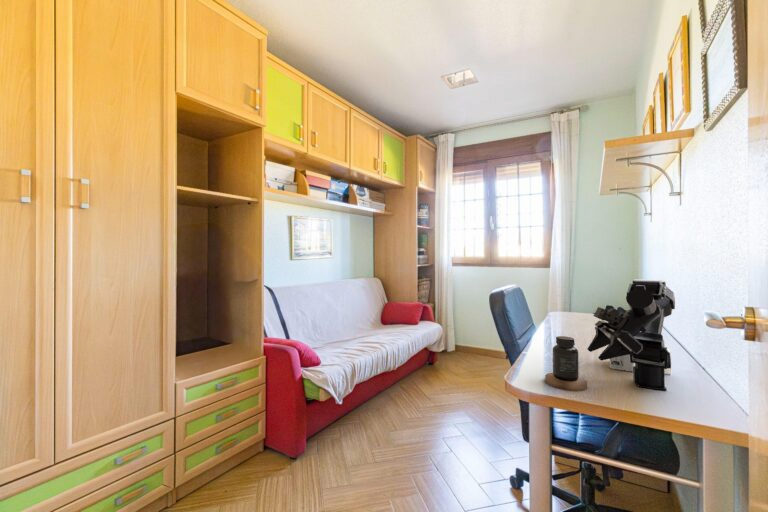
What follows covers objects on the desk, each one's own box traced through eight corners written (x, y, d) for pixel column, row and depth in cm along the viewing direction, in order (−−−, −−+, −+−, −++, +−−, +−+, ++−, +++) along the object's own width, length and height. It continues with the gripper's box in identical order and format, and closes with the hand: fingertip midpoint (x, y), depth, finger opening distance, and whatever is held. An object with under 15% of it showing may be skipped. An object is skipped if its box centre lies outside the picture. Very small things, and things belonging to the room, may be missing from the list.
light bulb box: (633, 372, 108) (633, 339, 108) (609, 368, 112) (608, 337, 112) (633, 364, 116) (633, 334, 116) (610, 361, 120) (610, 331, 121)
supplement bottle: (553, 372, 103) (553, 334, 103) (578, 376, 99) (578, 337, 100) (552, 379, 97) (551, 338, 97) (578, 383, 94) (578, 341, 94)
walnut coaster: (585, 380, 100) (585, 376, 100) (589, 393, 90) (589, 388, 90) (545, 375, 105) (545, 370, 105) (544, 386, 95) (544, 381, 95)
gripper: (601, 295, 104) (563, 328, 106) (627, 302, 86) (581, 341, 89) (631, 320, 101) (591, 354, 104) (664, 333, 83) (615, 373, 86)
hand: (593, 354), depth 96 cm, fingers open, 9 cm apart
